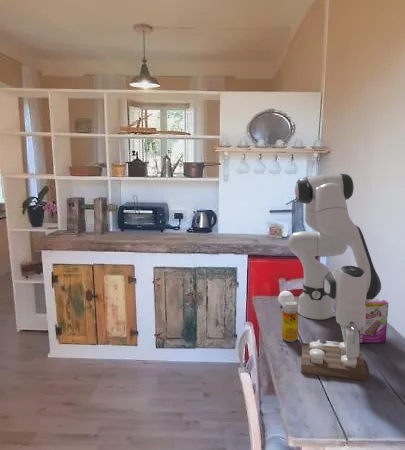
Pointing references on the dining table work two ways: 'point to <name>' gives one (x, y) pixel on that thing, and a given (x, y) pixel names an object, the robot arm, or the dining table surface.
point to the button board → (332, 364)
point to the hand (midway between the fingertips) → (348, 357)
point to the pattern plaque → (329, 343)
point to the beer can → (290, 321)
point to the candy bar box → (374, 322)
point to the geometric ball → (285, 297)
